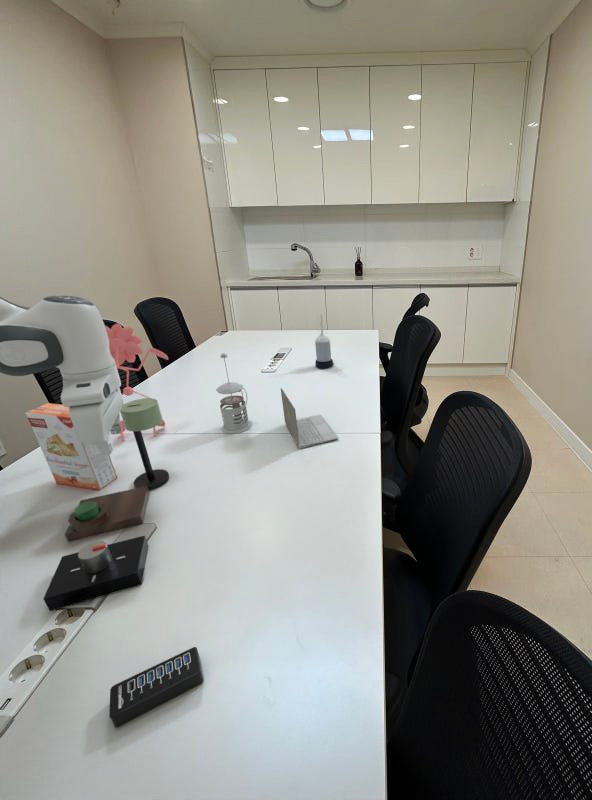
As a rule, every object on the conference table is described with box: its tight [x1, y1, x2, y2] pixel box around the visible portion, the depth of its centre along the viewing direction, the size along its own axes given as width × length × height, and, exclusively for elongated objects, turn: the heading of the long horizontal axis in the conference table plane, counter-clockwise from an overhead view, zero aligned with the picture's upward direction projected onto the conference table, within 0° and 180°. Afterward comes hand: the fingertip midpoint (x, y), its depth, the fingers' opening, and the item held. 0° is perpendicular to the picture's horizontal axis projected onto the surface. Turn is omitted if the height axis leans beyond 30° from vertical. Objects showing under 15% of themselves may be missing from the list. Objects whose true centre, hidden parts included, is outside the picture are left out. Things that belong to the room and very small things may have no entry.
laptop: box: [280, 387, 339, 449], centre depth 120 cm, size 18×12×13 cm
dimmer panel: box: [43, 535, 149, 612], centre depth 72 cm, size 14×10×3 cm
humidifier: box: [314, 311, 335, 370], centre depth 177 cm, size 8×8×25 cm
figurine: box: [105, 323, 177, 442], centre depth 120 cm, size 15×26×35 cm, turn 108°
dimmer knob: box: [77, 540, 112, 574], centre depth 70 cm, size 4×4×4 cm
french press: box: [215, 353, 253, 435], centre depth 123 cm, size 10×12×25 cm
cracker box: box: [25, 402, 118, 491], centre depth 96 cm, size 14×6×21 cm, turn 76°
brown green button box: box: [64, 486, 151, 543], centre depth 87 cm, size 14×12×4 cm
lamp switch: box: [73, 501, 99, 521], centre depth 83 cm, size 4×4×2 cm
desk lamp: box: [119, 397, 170, 492], centre depth 96 cm, size 10×8×22 cm
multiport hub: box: [108, 646, 205, 728], centre depth 54 cm, size 4×11×2 cm, turn 120°
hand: (112, 442), depth 81 cm, fingers open, 8 cm apart
